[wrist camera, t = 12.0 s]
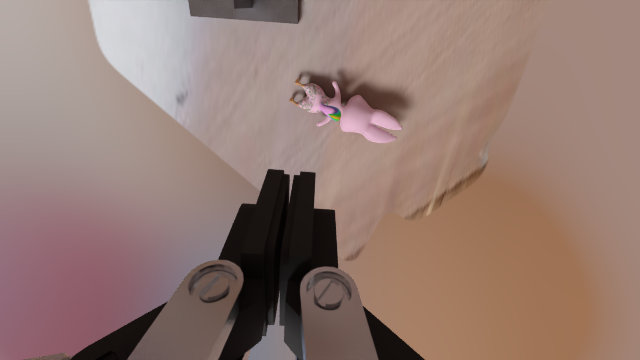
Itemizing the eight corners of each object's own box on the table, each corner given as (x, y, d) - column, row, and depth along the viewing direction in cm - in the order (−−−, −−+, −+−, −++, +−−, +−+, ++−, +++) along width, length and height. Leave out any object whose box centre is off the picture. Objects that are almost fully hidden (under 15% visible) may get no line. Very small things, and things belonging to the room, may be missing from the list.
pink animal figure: (290, 108, 40) (387, 149, 40) (277, 120, 34) (389, 167, 35) (304, 63, 36) (409, 108, 37) (292, 70, 31) (415, 122, 32)
